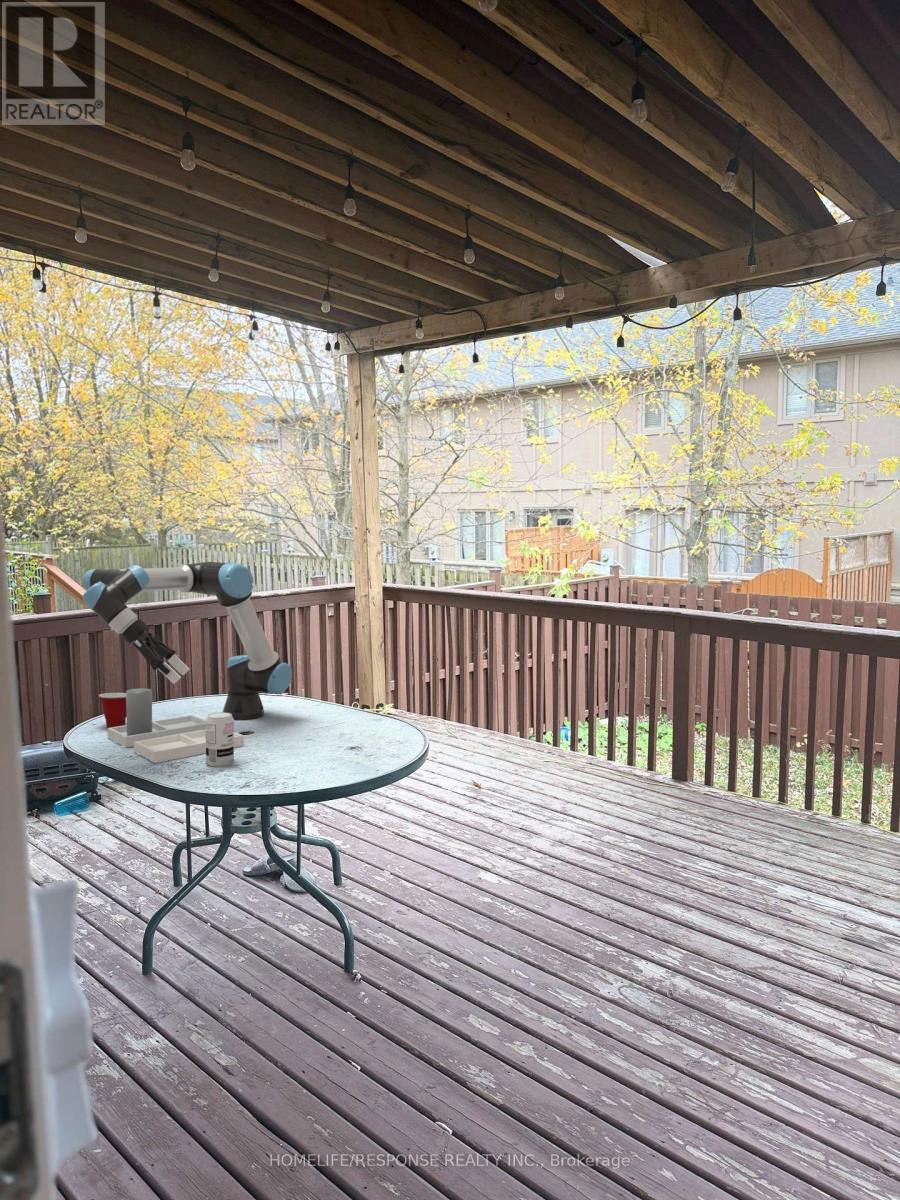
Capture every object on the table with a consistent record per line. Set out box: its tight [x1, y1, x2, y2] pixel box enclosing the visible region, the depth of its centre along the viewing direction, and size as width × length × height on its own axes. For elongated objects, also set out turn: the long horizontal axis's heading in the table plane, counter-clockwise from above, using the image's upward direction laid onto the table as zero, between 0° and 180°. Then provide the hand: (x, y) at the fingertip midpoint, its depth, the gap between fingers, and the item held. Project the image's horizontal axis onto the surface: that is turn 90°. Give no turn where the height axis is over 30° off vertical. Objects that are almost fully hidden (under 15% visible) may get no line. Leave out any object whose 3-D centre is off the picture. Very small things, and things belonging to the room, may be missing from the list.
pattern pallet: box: [107, 687, 206, 748], centre depth 272 cm, size 30×15×16 cm, turn 134°
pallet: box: [133, 729, 245, 764], centre depth 257 cm, size 30×15×4 cm, turn 134°
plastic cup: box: [98, 692, 127, 729], centre depth 283 cm, size 11×11×12 cm
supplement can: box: [205, 711, 235, 768], centre depth 242 cm, size 8×8×15 cm
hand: (182, 676), depth 239 cm, fingers open, 13 cm apart
